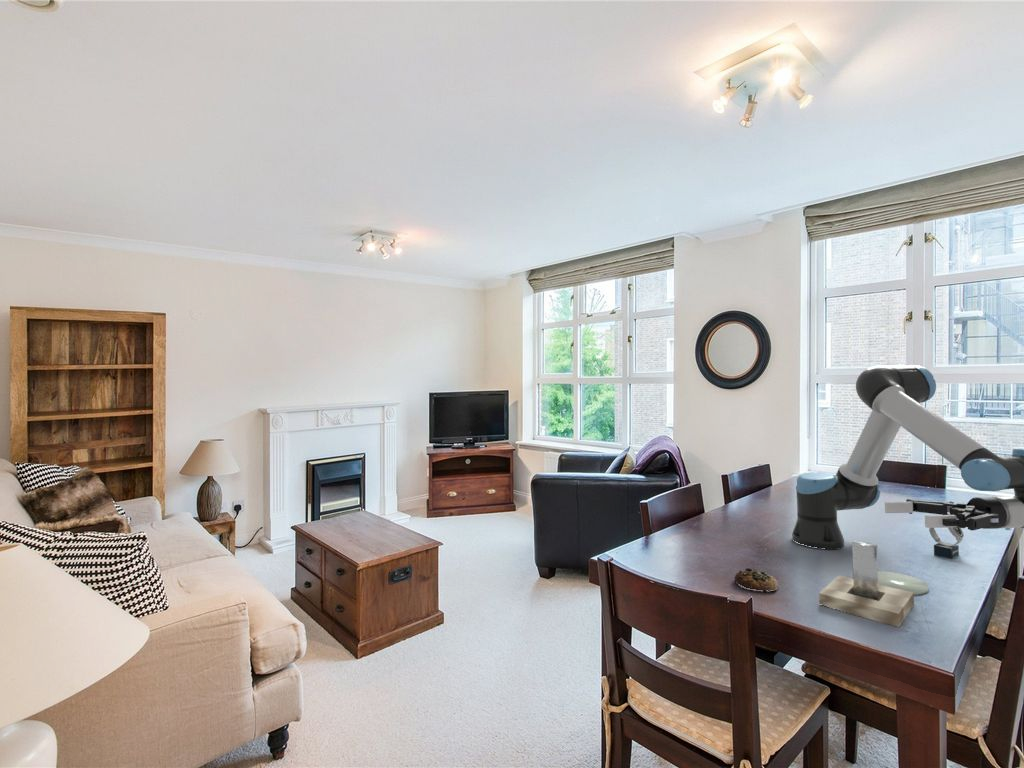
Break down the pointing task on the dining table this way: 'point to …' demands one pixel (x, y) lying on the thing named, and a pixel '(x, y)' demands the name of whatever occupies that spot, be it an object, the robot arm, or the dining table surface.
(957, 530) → the watch
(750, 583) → the bread roll
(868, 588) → the canister
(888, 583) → the coaster
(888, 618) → the holder block
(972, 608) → the dining table surface
